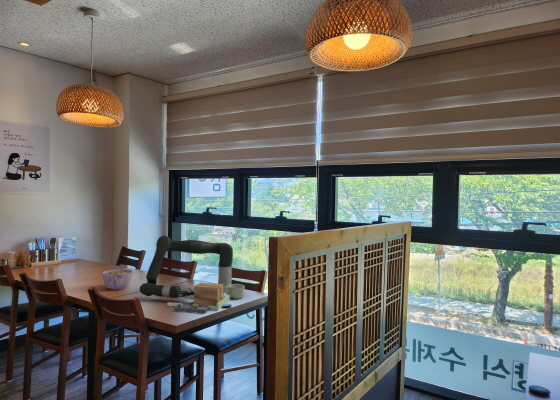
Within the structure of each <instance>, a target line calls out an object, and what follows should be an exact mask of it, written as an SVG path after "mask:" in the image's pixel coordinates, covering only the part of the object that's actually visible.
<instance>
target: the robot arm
mask: <svg viewBox="0 0 560 400" xmlns="http://www.w3.org/2000/svg"><path fill="white" fill-rule="evenodd" d="M155 246H156V248H155V252H154V256H153V257H152V261H151V262H150V265H149V267H148V270H147V273H146V274H145V275H146V277H145V279H146V281H147V282H145V283H142V284H141V285H140V286H139V288H138V289H139V292H140V293H141V294H142V295H144V296H146V297H151V296H156V297H161V298H162V297H163V298H170V299H179V298H182V297H186V296H191V295H194V289H191V288H188V287H187V288H181V287H180V285H173V284H172V285H169V284H167V285H163V284H157V282H158V281H157V280H158V277H159V275H160V271H161V268H162V265H163V261H164V258H165V256H166V254H167V252H179V253H185V254H193V255H194V254H195V255H203V254H206V255H207V254H216V255H219V261H218V267H217V268H218V271H217V272H218V274H217V275H218V277H217V284H223V288H224V287H225V286H227V287H228V286H229V285H231V284H232V272H233V269H232V266H233V265H232V264H233V259H234V248H233V247H232V245H231V244H229V243H227V242H209V241H204V240H199V239H185V240H174V239H171V238H170V237H169V235H161V236H159V238H158V239H157V240H156V243H155ZM225 291H226V292H228V289H227V288H225ZM223 293H225V292H224V291H223Z"/></svg>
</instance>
